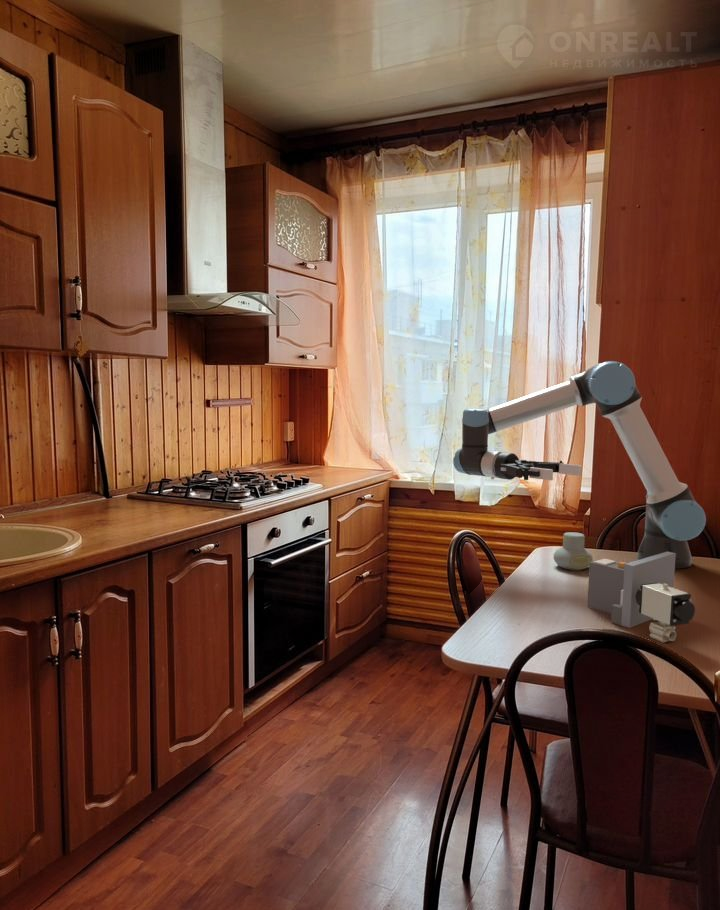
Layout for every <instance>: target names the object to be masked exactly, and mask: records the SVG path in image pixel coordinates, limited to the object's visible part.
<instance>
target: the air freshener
mask: <svg viewBox="0 0 720 910" xmlns="http://www.w3.org/2000/svg"><path fill="white" fill-rule="evenodd" d="M585 538H586V537H585V534H584V533H580V532H576V531H575V532H574V531H572V532H571V531H570V532H569V531H568V532H567V531H566V532H564V533H563V537H562V540H563V541H562V547H559V548H558V549H556V550H555V552H554V553H553V561H554V562H555V563H556V564H557V565H558V566H559V567H560V568H563V569H565V570H569V571H577V572H579V571H582V570H585V569H587V568H588V567H589V566H590V562H593V561H594V558H593V555H592V554H591V552H590V551H589V550H587V549H586V548H585Z"/></svg>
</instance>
